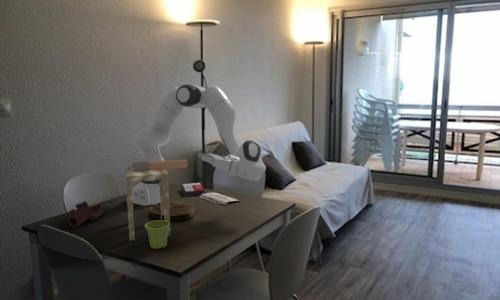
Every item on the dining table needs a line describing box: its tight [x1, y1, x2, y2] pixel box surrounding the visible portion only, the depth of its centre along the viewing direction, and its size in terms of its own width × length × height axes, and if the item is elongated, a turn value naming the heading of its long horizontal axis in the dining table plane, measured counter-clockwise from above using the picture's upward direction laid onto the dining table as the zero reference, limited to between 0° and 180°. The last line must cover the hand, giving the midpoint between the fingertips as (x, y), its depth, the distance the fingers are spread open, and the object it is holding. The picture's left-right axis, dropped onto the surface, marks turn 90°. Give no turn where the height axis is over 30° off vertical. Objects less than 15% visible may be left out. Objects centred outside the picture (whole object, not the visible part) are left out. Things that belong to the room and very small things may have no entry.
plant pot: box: [144, 219, 171, 250], centre depth 156 cm, size 9×9×9 cm
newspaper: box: [199, 192, 241, 206], centre depth 218 cm, size 23×12×2 cm, turn 40°
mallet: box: [132, 158, 188, 172], centre depth 172 cm, size 22×6×4 cm, turn 107°
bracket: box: [67, 200, 104, 228], centre depth 184 cm, size 6×17×10 cm, turn 163°
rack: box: [125, 164, 171, 242], centre depth 172 cm, size 16×22×26 cm
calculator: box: [181, 182, 206, 198], centre depth 232 cm, size 11×4×15 cm
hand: (200, 156), depth 177 cm, fingers open, 8 cm apart
